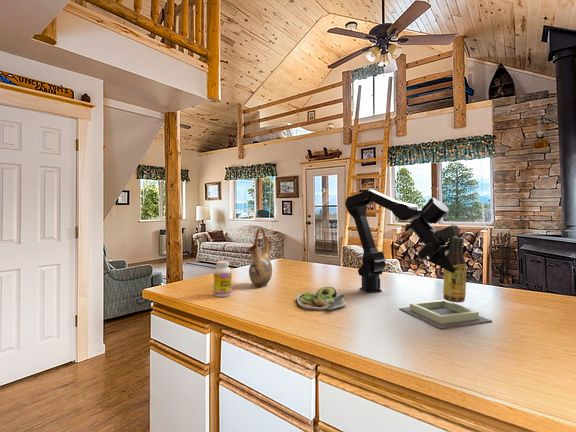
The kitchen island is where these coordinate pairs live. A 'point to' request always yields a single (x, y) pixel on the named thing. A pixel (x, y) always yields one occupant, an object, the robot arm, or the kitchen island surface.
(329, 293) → the salad plate
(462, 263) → the sauce bottle
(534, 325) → the kitchen island surface
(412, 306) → the bottle collar
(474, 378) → the kitchen island surface
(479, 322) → the rubber mat
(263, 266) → the ceramic vessel
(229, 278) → the supplement bottle
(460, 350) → the kitchen island surface
